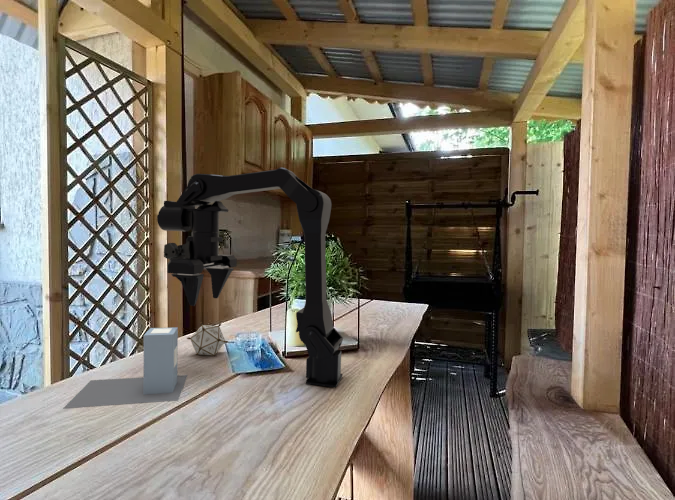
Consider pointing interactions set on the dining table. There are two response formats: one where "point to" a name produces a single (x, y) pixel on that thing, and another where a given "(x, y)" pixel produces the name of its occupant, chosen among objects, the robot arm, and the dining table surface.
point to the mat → (121, 393)
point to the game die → (207, 340)
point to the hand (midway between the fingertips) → (204, 301)
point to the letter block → (160, 360)
